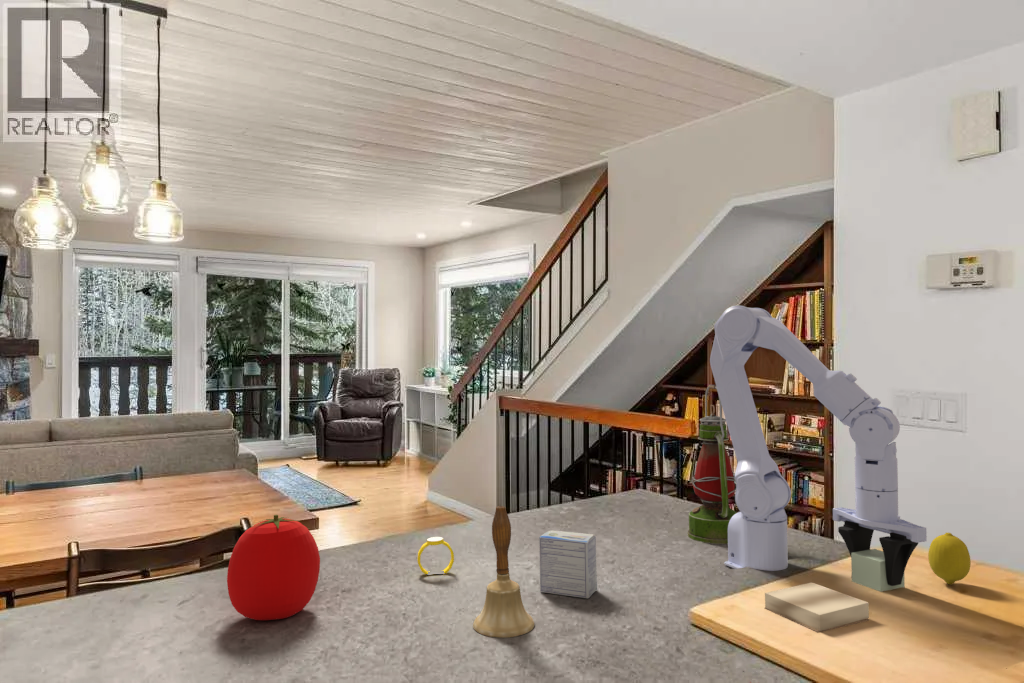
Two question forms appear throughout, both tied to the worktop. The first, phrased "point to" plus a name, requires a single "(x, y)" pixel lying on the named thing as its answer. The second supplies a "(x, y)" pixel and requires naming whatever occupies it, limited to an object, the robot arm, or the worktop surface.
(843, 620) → the slab top
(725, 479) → the lantern
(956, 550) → the lemon
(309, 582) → the tomato
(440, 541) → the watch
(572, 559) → the medicine box
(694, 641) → the worktop surface
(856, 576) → the cube
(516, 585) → the hand bell
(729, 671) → the worktop surface
